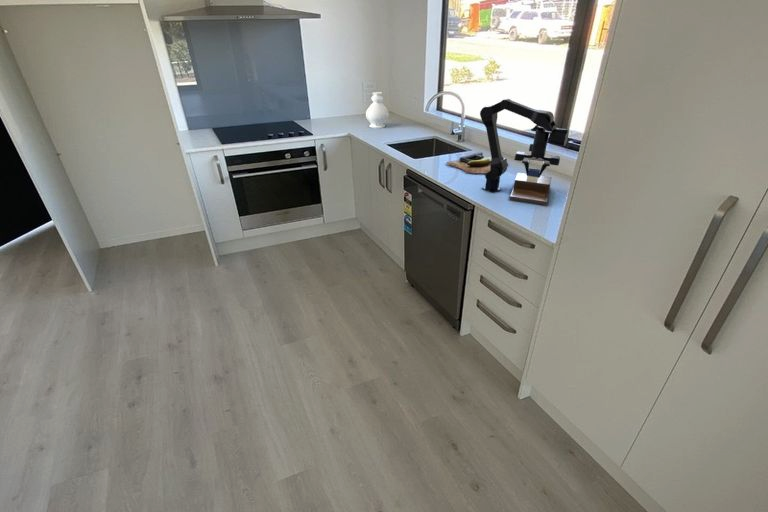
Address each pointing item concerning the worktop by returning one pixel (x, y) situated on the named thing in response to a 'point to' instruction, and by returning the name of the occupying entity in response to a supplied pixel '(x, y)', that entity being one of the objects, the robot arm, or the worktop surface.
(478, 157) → the door handle
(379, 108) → the decorative vase
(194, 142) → the worktop surface
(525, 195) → the brown wooden cabinet
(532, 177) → the blue sleeved eraser
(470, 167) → the cutting board
